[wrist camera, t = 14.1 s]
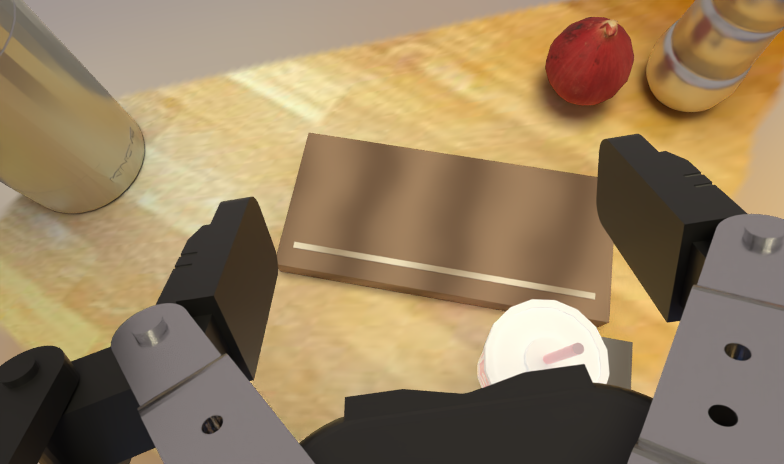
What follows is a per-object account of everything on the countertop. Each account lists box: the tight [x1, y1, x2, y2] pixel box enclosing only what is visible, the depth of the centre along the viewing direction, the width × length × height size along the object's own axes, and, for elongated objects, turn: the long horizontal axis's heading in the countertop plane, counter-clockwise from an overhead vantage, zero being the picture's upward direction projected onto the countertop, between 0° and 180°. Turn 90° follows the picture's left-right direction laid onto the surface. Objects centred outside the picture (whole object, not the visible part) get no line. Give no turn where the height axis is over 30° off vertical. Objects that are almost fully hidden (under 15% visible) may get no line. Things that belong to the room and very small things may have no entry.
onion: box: [545, 17, 634, 105], centre depth 37 cm, size 6×6×8 cm
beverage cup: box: [478, 299, 609, 388], centre depth 28 cm, size 6×6×14 cm
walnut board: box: [277, 133, 633, 390], centre depth 36 cm, size 24×17×2 cm
